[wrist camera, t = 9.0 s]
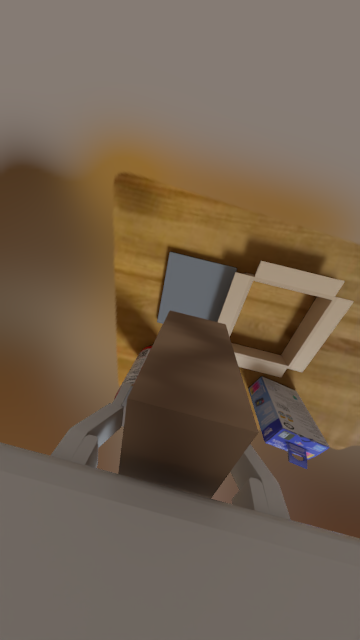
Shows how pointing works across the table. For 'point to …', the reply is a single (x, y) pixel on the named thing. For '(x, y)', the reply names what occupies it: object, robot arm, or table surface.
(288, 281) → the beige hollow square frame
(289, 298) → the table surface
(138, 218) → the table surface
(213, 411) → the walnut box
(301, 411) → the ink cartridge box
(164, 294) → the mat
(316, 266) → the table surface
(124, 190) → the table surface
